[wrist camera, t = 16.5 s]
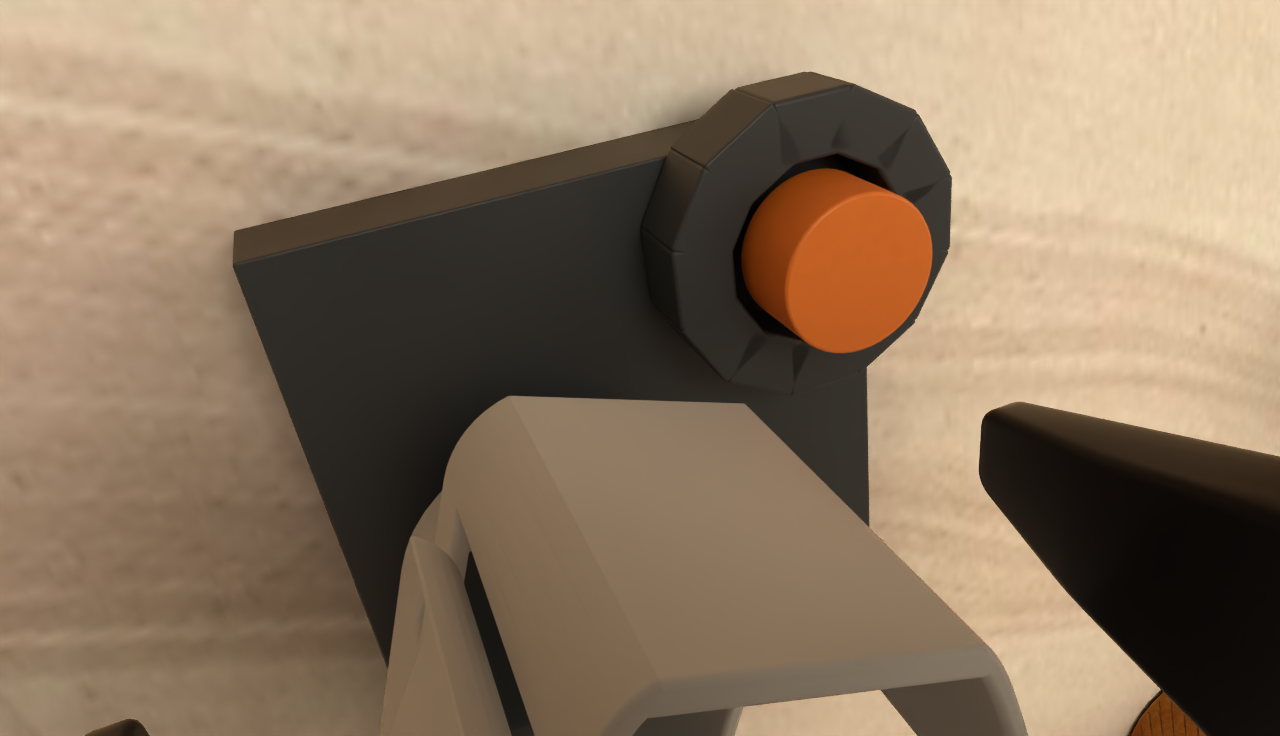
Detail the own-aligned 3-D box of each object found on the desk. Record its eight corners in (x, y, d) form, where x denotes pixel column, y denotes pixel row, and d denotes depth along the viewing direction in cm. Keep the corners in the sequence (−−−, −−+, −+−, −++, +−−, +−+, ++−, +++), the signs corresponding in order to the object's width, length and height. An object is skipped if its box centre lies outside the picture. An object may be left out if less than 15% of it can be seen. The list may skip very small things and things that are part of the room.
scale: (214, 180, 16) (206, 239, 13) (850, 36, 19) (957, 58, 16) (426, 742, 23) (451, 861, 20) (862, 569, 27) (938, 650, 24)
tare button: (733, 189, 16) (780, 216, 15) (877, 151, 17) (936, 173, 16) (746, 336, 18) (790, 374, 16) (879, 296, 19) (932, 328, 17)
